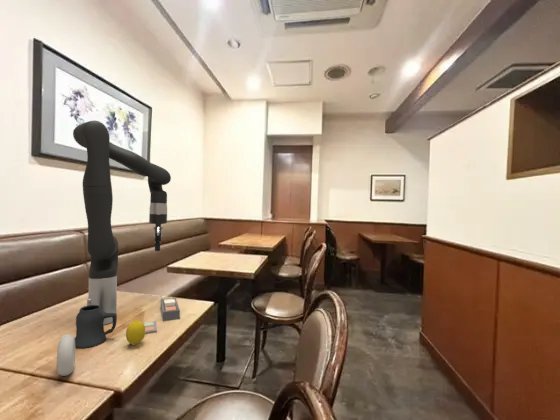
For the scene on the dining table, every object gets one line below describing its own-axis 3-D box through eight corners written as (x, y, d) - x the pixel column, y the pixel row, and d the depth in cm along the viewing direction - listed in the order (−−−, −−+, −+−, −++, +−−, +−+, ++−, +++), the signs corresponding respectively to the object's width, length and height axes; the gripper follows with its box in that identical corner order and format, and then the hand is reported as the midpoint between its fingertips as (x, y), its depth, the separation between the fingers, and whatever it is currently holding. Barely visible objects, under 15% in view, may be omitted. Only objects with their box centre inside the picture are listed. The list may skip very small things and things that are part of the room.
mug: (67, 350, 87) (68, 313, 87) (78, 337, 95) (78, 304, 95) (112, 345, 90) (113, 310, 90) (118, 333, 99) (119, 301, 99)
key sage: (163, 307, 121) (164, 302, 121) (163, 304, 125) (163, 299, 125) (173, 306, 123) (174, 301, 123) (173, 303, 126) (173, 298, 126)
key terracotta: (165, 316, 111) (165, 310, 111) (165, 313, 115) (165, 307, 115) (176, 315, 113) (176, 309, 113) (175, 312, 117) (175, 306, 117)
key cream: (164, 309, 116) (164, 303, 116) (164, 306, 120) (164, 300, 120) (175, 307, 118) (175, 302, 118) (174, 304, 122) (174, 299, 122)
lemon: (137, 350, 88) (137, 324, 87) (121, 348, 89) (121, 322, 89) (148, 342, 93) (149, 317, 93) (134, 340, 94) (134, 316, 94)
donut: (60, 366, 78) (61, 329, 78) (75, 362, 80) (76, 327, 80) (55, 385, 70) (55, 345, 70) (72, 381, 72) (73, 341, 71)
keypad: (162, 321, 110) (162, 312, 110) (160, 307, 125) (160, 299, 125) (179, 318, 113) (179, 310, 113) (175, 305, 128) (175, 297, 128)
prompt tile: (141, 334, 98) (141, 332, 98) (141, 324, 106) (141, 322, 106) (156, 332, 100) (156, 329, 100) (156, 322, 108) (156, 320, 108)
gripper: (149, 212, 135) (148, 249, 136) (149, 213, 123) (148, 253, 123) (166, 212, 139) (165, 248, 139) (168, 213, 127) (166, 252, 127)
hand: (157, 250), depth 131 cm, fingers closed
